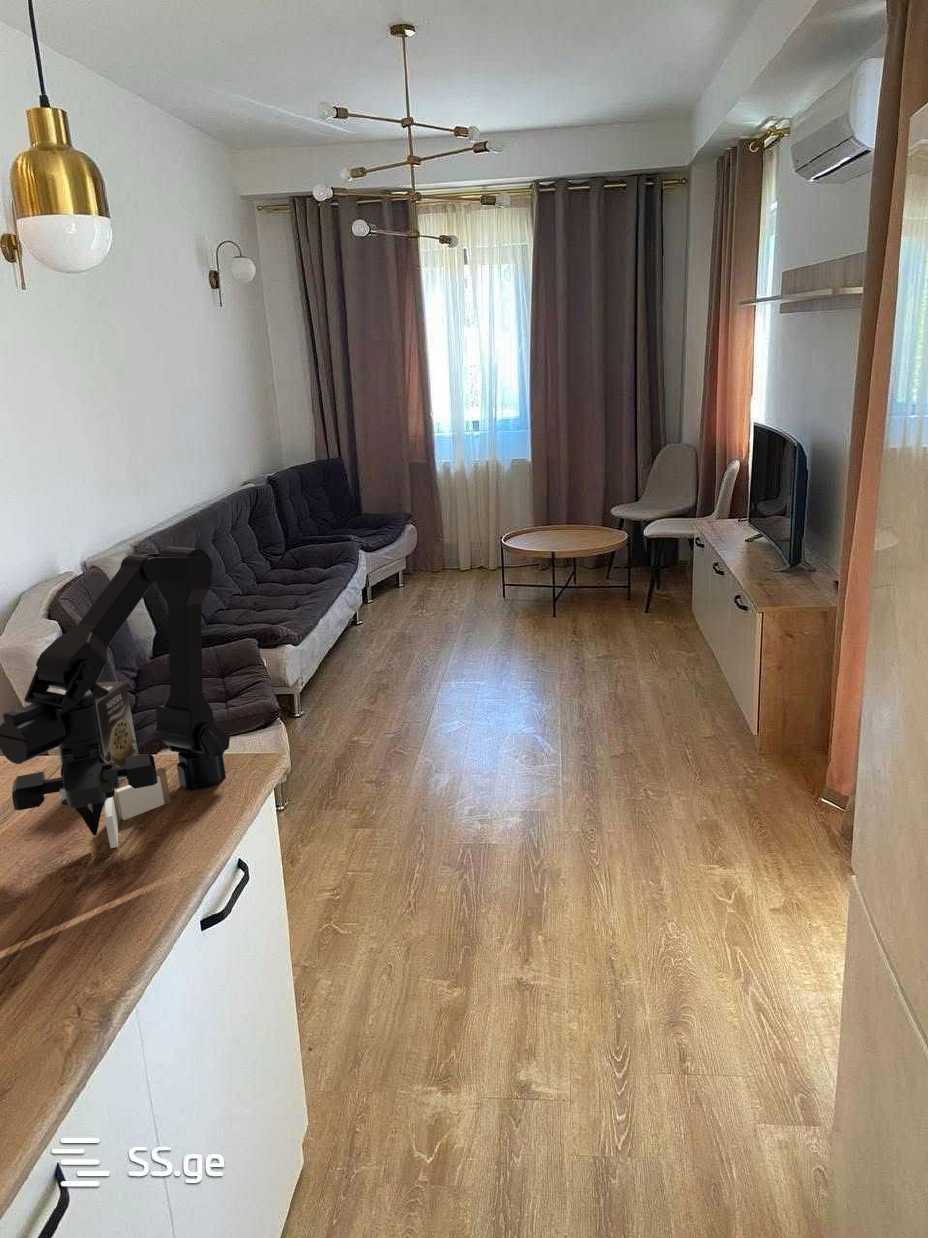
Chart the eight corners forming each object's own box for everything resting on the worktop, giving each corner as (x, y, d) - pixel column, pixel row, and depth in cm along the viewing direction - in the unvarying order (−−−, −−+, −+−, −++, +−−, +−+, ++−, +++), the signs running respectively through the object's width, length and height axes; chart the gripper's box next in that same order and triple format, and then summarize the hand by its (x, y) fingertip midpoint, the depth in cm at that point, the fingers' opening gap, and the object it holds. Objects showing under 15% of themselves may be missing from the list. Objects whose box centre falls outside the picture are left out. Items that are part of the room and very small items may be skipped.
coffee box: (114, 793, 150) (97, 702, 145) (78, 791, 151) (60, 701, 146) (142, 767, 158) (127, 680, 153) (109, 766, 160) (92, 680, 155)
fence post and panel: (167, 800, 146) (162, 767, 144) (173, 803, 144) (167, 770, 143) (106, 823, 139) (100, 789, 138) (111, 828, 138) (105, 793, 136)
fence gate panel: (111, 825, 138) (105, 795, 137) (118, 824, 138) (112, 794, 137) (110, 848, 132) (104, 817, 130) (117, 846, 132) (112, 816, 131)
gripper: (1, 771, 117) (21, 877, 122) (153, 744, 124) (167, 846, 128) (6, 738, 127) (25, 838, 132) (147, 715, 134) (160, 811, 138)
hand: (95, 834), depth 132 cm, fingers closed
